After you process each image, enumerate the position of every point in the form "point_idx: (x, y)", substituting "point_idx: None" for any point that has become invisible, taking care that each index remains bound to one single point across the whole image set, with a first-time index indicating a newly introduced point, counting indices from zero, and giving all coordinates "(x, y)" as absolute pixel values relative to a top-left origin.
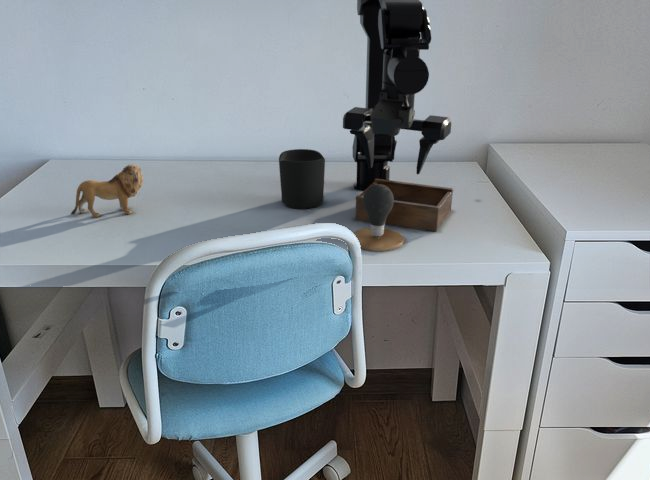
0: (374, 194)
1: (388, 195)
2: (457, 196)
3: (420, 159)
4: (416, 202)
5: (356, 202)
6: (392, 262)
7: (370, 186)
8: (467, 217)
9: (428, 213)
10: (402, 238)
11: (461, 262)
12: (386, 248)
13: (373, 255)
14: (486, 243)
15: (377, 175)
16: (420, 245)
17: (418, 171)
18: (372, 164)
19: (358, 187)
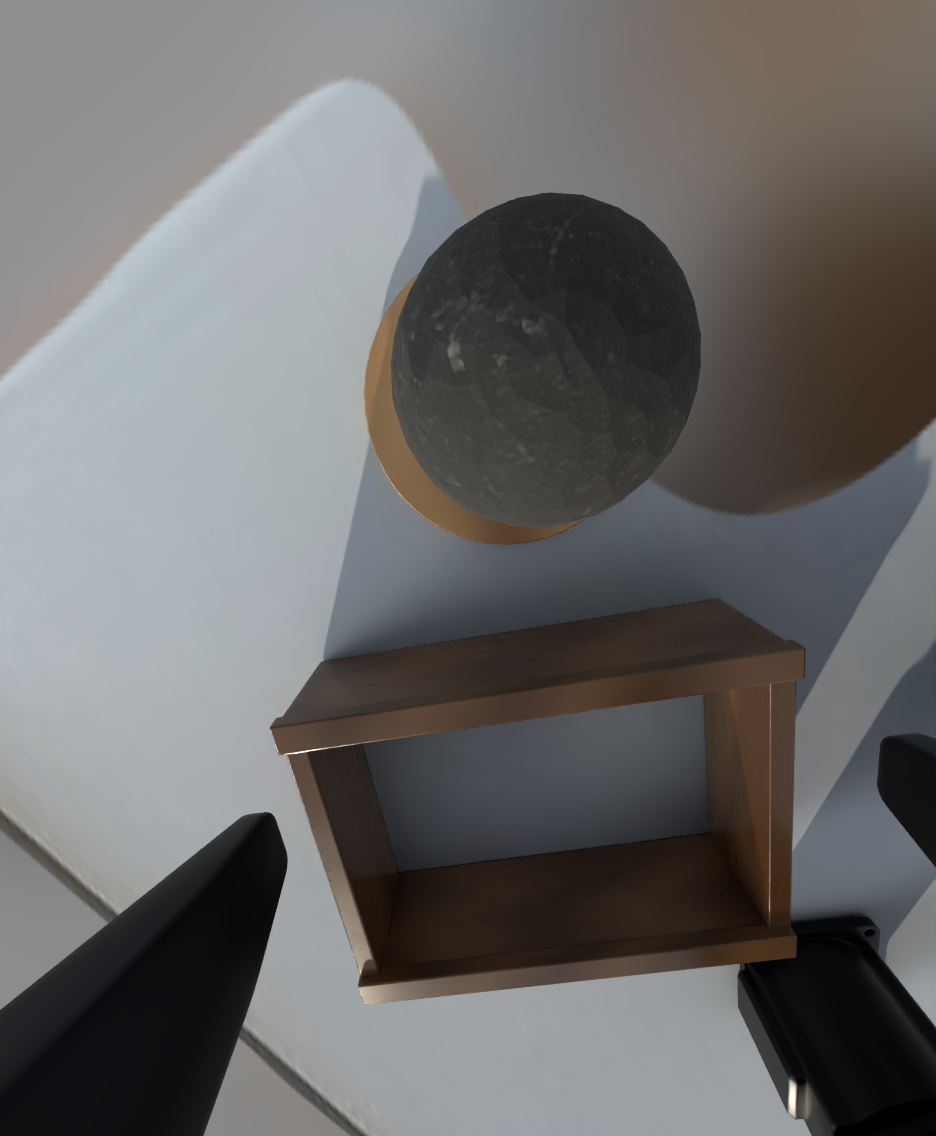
0: (539, 199)
1: (406, 327)
2: (440, 1018)
3: (11, 1034)
4: (532, 877)
5: (774, 636)
6: (290, 162)
7: (675, 351)
8: (298, 860)
9: (339, 700)
10: (388, 468)
11: (26, 383)
12: (396, 299)
13: (425, 195)
14: (79, 653)
15: (811, 1024)
16: (295, 472)
17: (220, 837)
18: (904, 809)
19: (852, 925)
